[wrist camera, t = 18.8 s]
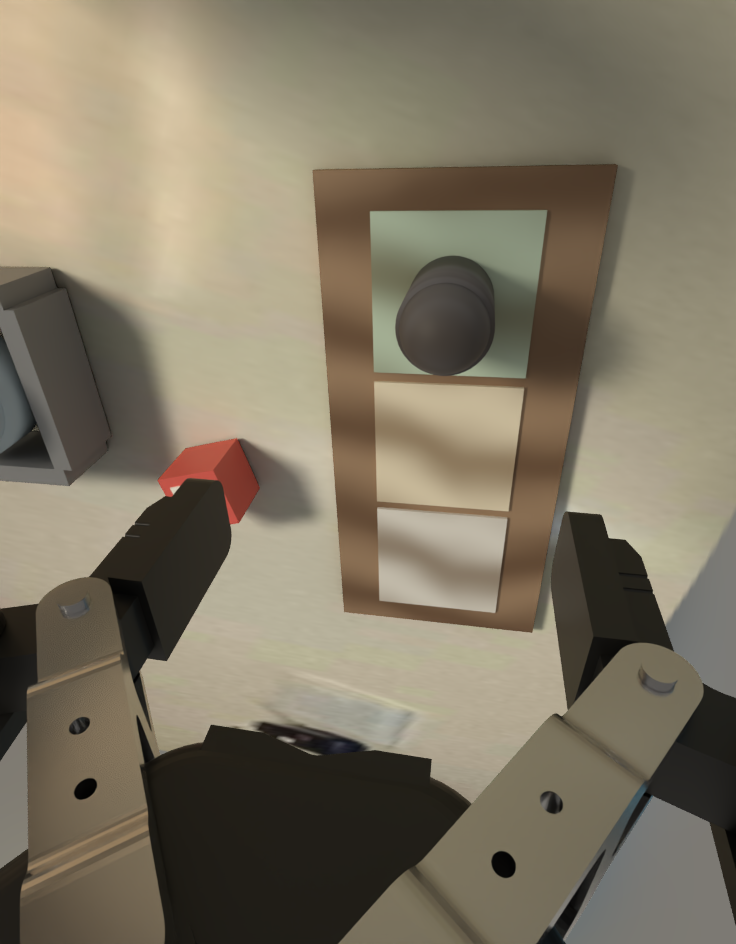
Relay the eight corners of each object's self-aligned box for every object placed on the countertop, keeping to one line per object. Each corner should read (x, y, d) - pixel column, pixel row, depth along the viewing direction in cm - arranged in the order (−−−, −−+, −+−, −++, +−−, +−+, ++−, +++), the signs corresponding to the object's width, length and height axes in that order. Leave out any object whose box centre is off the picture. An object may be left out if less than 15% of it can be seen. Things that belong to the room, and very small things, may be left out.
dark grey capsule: (410, 254, 28) (389, 287, 23) (499, 256, 28) (501, 291, 22) (407, 339, 31) (387, 389, 25) (489, 344, 30) (489, 396, 24)
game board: (315, 169, 28) (311, 170, 27) (615, 164, 26) (618, 165, 25) (345, 606, 44) (343, 613, 43) (531, 626, 42) (532, 634, 41)
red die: (185, 448, 38) (156, 481, 35) (237, 438, 37) (212, 471, 34) (210, 496, 40) (184, 531, 37) (259, 488, 39) (238, 524, 36)
